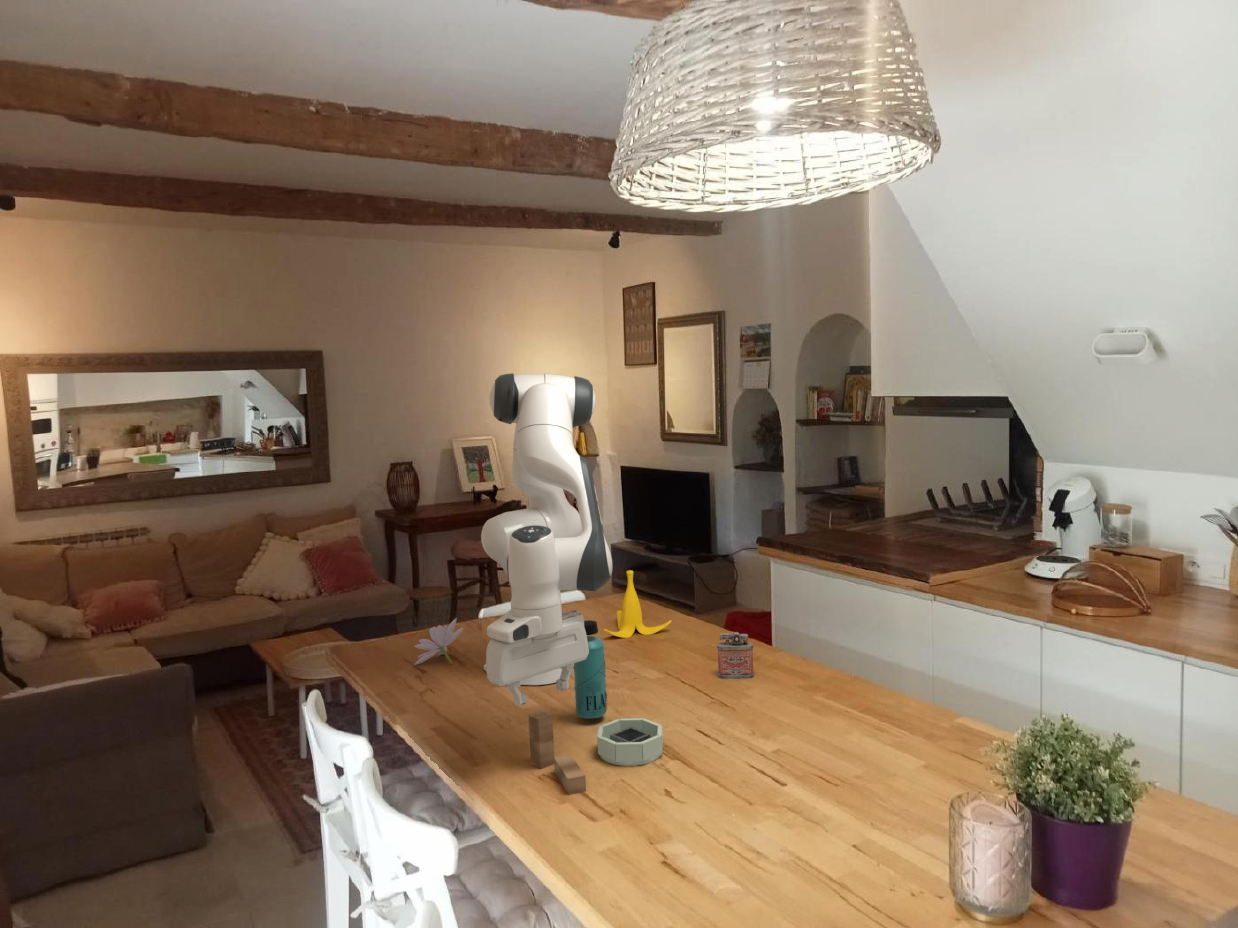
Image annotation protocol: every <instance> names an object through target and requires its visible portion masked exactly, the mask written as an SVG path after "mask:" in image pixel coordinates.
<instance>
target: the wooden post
mask: <svg viewBox="0 0 1238 928" xmlns="http://www.w3.org/2000/svg"><path fill="white" fill-rule="evenodd" d="M527 718H528V733H529V751H530V752H529V753H530V754H529V755H530V765H532V766H534V767H536V768H538V769H540V770H542V769H544V768H547V767H550V766H552V765H554V757H555V746H554V742H555V741H554V726H553V724H554V723H553V714H551V713H548V712H546V711H544V710H539V711H537V712H534V713H531V714H528V717H527Z"/></svg>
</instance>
